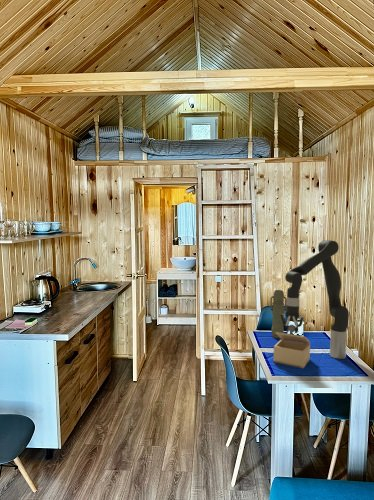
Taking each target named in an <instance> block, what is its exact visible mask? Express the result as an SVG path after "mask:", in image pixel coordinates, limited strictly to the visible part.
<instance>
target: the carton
mask: <svg viewBox="0 0 374 500" xmlns="http://www.w3.org/2000/svg"><path fill="white" fill-rule="evenodd" d="M310 352H311V343H310V344H308V343H302V342H296V341H290V340H284V339H281V338H280V339H279V341H278V342H277V343H275V345H274V346H273V363H276V364H281V365H285V366H291V367H295V368H300V369H304V368H305V367H306V365H307V364H308V363H309V362H310V357H311V356H310V355H311V353H310Z"/></svg>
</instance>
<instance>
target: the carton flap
mask: <svg viewBox="0 0 374 500" xmlns="http://www.w3.org/2000/svg"><path fill="white" fill-rule="evenodd" d="M288 330H289V333H287V332H286V333H285V332H284V333H280V332H275V333H276V334H277V335H278V336H279V337H280V338H279V339H280V340H281V339H283V340H289V341H295V342H301V343H307V344H310V345H311V342H310V341H309V339H308V338H307V337H306V336H303V335H298V334H294V333H295V324H289V327H288Z"/></svg>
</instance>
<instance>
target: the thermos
mask: <svg viewBox="0 0 374 500" xmlns="http://www.w3.org/2000/svg"><path fill="white" fill-rule="evenodd" d="M269 299H270V300H269V301H270V303H269V307H270V308H269V309H270V311H271V314H272V326H271V337H272V338H274V339H281V338H280V337H279V336H278V335H277V334H276V333H275V332H280V333H285V328H284V324H283V322H282V318H281V315H282V314H285V312H286V301H287V296H285V293H284V291H283V290H281V289H276V290H274V292H273V295H272V296H271V297H270V298H269Z"/></svg>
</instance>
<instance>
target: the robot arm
mask: <svg viewBox="0 0 374 500" xmlns="http://www.w3.org/2000/svg"><path fill="white" fill-rule="evenodd" d="M339 248H340V247H339V243H338V242H337V241H335V240H330V239H329V240H327V239H326V240H325V239H324V240H321V241H320V242H318V246H317V249H318V252H317V253H315V254H314V255H312V256H310V257H308V258H306V259H305V260H303V261H302V262H301V263H300V264H299V265H298V266H296V267H294V268H291V269H290V270H288V272H286V274H285V281H286V282H288V283H290V284H291V286H290V287H288V288H287V289H286V290H287V292H286V293H287V294H286V299H287V301H286V311H285V313H284V314H282V315H281V318H282V322H283V326H284V325H285V331H286V333H290V331H289V330H288V327H289V325H290V322H293V325H294V326H295V331H294V333H295V334H297V333H298V332H299V328H300V327H301V326H302V325H303V323H304V319H305V317H304V316H300V290H301V287H302V284H303V276H307V275H308V274H309V273H310V272H311V271H312V270H314V269H315V268H316V267H318V266H319V265H320V264H322V269H323V275H324V281H325V286H326V292H327V293H326V294H327V298H328V308H329V310H328V311H329V315H330V316H331V317H332V318H334V319H333V323H332V324H331V326H330V344H329V345H330V346H329V356H330V357H332V358H334V359H339V360H340V359H343V360H345V359H346V357H347V330H348V326H349V321H350V318H349V317H350V312H349V309H348V308H347V307H346V306H344V305H342V301H341V298H340V296H341V295H340V294H341V289H342V278H341V275H340V272H339V270H338V269H337V267H336V265H335V264H334V262H333V259H332V257H333V256H334V255H336V254H337V253H338V251H339ZM286 319H287V320H286ZM298 320H299V321H298Z"/></svg>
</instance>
